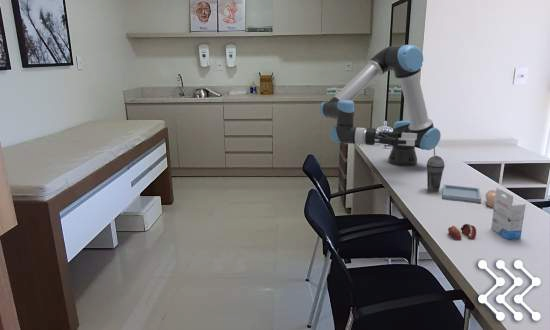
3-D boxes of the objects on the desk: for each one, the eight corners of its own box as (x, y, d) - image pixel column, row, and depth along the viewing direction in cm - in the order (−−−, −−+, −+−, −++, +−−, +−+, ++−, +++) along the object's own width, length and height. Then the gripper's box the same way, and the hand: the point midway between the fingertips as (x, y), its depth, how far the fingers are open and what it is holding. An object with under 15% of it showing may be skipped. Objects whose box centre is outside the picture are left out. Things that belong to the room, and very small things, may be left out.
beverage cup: (443, 194, 165) (448, 148, 160) (425, 193, 167) (429, 147, 161) (440, 188, 172) (444, 144, 167) (422, 187, 174) (426, 144, 168)
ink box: (521, 238, 124) (528, 195, 120) (506, 239, 124) (513, 196, 120) (504, 227, 133) (510, 186, 129) (490, 228, 132) (495, 187, 128)
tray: (443, 188, 172) (443, 184, 172) (478, 192, 167) (479, 188, 166) (442, 198, 160) (442, 194, 159) (480, 203, 154) (481, 199, 154)
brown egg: (484, 200, 157) (486, 189, 155) (498, 203, 155) (500, 191, 153) (485, 206, 151) (488, 194, 149) (500, 209, 149) (502, 197, 147)
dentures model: (446, 221, 128) (469, 220, 129) (445, 233, 130) (468, 232, 130) (455, 229, 123) (479, 228, 124) (453, 241, 124) (477, 240, 125)
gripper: (370, 139, 187) (416, 142, 179) (360, 150, 165) (412, 154, 157) (371, 123, 185) (418, 126, 177) (361, 132, 163) (414, 136, 155)
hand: (415, 139), depth 167 cm, fingers open, 13 cm apart
